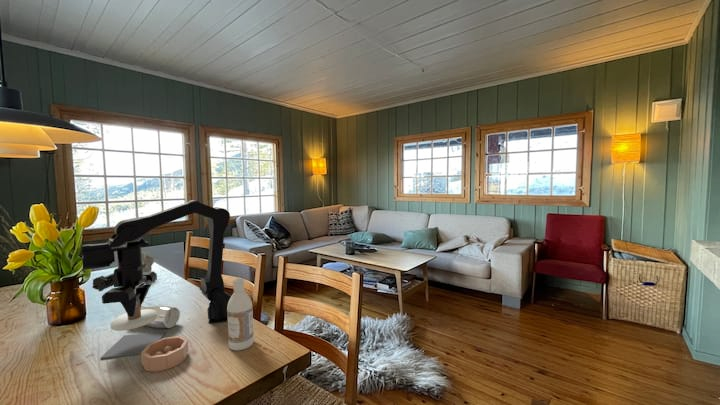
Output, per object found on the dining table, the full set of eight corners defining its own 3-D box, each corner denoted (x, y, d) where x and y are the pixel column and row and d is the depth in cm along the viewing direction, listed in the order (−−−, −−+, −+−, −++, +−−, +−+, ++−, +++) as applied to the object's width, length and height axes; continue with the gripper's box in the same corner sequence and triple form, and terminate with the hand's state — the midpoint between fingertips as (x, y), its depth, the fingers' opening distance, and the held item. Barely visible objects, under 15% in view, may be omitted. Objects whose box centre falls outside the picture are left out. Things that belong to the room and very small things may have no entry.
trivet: (166, 332, 96) (166, 330, 96) (149, 353, 85) (149, 351, 85) (124, 337, 94) (123, 335, 94) (100, 359, 82) (100, 357, 82)
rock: (120, 289, 135) (118, 257, 134) (114, 280, 148) (112, 250, 147) (158, 281, 146) (156, 251, 145) (149, 273, 158) (148, 245, 157)
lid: (163, 311, 95) (161, 292, 95) (147, 327, 85) (145, 306, 84) (123, 315, 93) (122, 296, 92) (102, 332, 82) (100, 311, 82)
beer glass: (131, 330, 101) (168, 333, 98) (122, 315, 98) (160, 318, 95) (147, 314, 107) (183, 316, 104) (139, 299, 104) (175, 302, 101)
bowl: (192, 347, 87) (191, 334, 87) (179, 368, 78) (179, 354, 77) (153, 352, 85) (152, 339, 85) (136, 374, 75) (135, 359, 75)
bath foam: (223, 349, 86) (220, 282, 85) (239, 337, 93) (237, 274, 91) (243, 353, 84) (240, 284, 83) (258, 340, 91) (256, 276, 89)
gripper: (116, 256, 94) (120, 304, 96) (75, 275, 76) (81, 333, 78) (156, 254, 97) (159, 300, 98) (125, 271, 79) (129, 327, 80)
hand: (134, 313), depth 89 cm, fingers closed on lid, 3 cm apart
